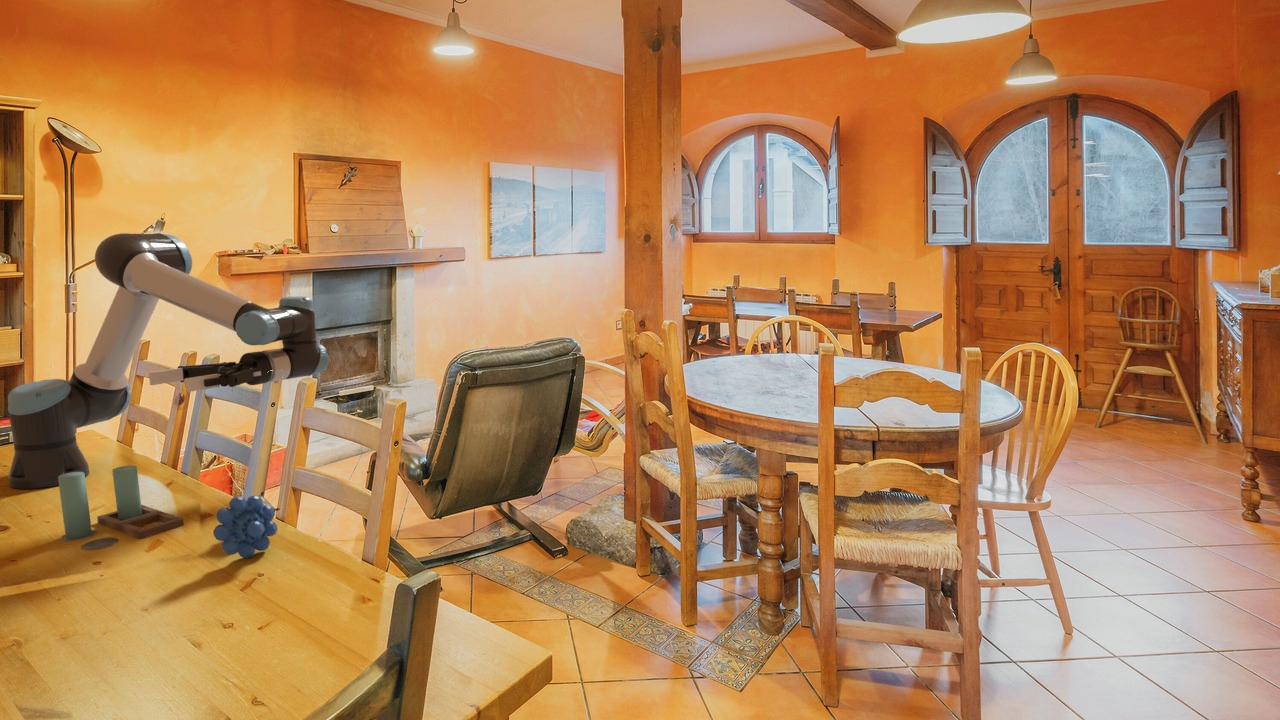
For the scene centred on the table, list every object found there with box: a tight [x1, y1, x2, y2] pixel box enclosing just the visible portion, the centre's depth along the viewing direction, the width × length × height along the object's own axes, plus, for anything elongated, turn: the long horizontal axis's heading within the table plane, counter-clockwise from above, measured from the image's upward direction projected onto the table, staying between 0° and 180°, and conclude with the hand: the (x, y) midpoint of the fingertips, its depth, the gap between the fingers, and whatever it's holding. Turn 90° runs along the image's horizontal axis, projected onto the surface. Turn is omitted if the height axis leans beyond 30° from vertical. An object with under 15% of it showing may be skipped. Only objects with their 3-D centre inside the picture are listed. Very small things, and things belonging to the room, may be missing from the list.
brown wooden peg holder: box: [96, 504, 185, 540], centre depth 147 cm, size 16×8×2 cm, turn 60°
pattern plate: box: [60, 529, 119, 551], centre depth 140 cm, size 16×8×1 cm, turn 60°
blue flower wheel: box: [213, 495, 278, 559], centre depth 133 cm, size 12×7×12 cm, turn 150°
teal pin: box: [112, 465, 142, 521], centre depth 148 cm, size 4×4×12 cm
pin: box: [58, 472, 93, 539], centre depth 140 cm, size 4×4×12 cm
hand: (167, 382), depth 153 cm, fingers open, 13 cm apart
